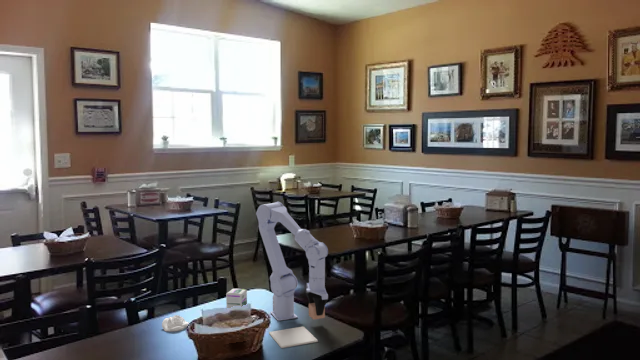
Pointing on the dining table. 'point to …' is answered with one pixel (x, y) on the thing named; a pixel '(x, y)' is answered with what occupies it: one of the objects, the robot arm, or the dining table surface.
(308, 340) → the serving plate
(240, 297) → the syrup box
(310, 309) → the terracotta block
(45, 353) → the dining table surface
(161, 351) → the dining table surface
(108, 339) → the dining table surface
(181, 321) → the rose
